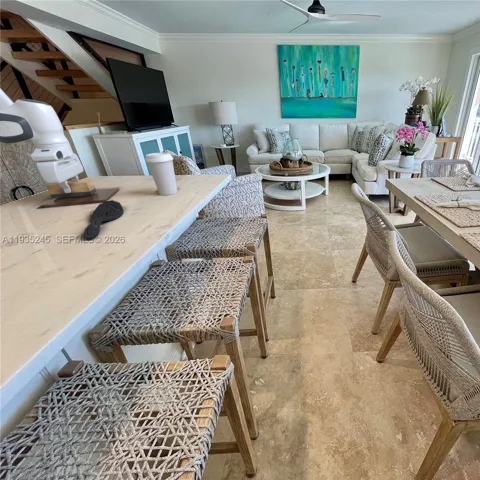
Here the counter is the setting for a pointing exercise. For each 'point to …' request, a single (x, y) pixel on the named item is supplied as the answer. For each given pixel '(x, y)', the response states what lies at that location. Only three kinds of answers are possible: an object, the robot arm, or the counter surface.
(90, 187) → the scrub brush
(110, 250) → the counter surface
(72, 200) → the walnut board
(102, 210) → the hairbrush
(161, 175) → the coffee cup
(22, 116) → the robot arm
